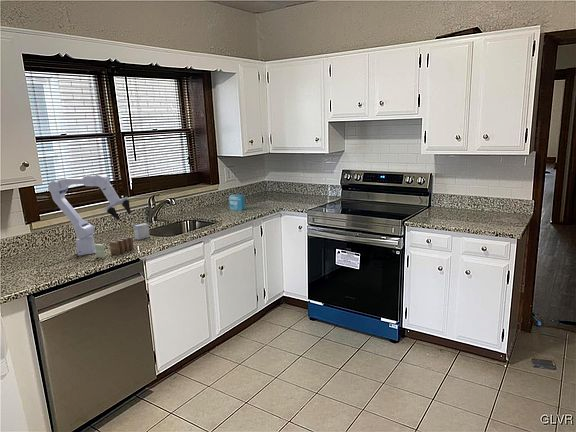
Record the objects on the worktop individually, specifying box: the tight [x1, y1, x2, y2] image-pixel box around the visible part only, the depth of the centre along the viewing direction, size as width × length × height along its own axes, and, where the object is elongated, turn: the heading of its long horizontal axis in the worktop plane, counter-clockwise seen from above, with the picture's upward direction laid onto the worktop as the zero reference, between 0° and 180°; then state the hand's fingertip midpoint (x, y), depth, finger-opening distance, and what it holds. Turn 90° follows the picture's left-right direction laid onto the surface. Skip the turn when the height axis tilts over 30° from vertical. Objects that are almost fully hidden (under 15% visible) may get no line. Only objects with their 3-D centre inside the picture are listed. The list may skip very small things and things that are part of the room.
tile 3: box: [114, 239, 126, 254], centre depth 244 cm, size 2×5×7 cm, turn 67°
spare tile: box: [94, 243, 106, 259], centre depth 236 cm, size 2×5×7 cm, turn 67°
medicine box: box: [133, 222, 150, 240], centre depth 273 cm, size 8×4×9 cm, turn 141°
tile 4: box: [109, 240, 121, 256], centre depth 241 cm, size 2×5×7 cm, turn 67°
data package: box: [228, 194, 246, 211], centre depth 352 cm, size 12×4×12 cm, turn 63°
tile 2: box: [118, 237, 130, 252], centre depth 247 cm, size 2×5×7 cm, turn 67°
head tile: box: [123, 235, 135, 250], centre depth 250 cm, size 2×5×7 cm, turn 67°
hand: (124, 216), depth 240 cm, fingers open, 7 cm apart
